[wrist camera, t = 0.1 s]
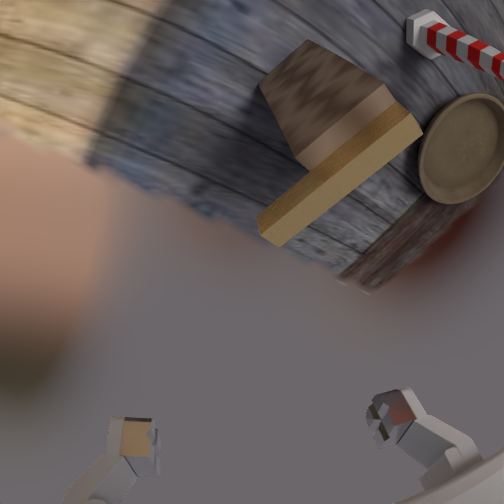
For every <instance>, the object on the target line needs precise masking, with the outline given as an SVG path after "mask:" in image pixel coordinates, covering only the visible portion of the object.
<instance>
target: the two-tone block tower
mask: <svg viewBox="0 0 504 504" xmlns="http://www.w3.org/2000/svg"><path fill="white" fill-rule="evenodd" d="M258 85H259V87H260V89H261V91H262V93H263V95H264V97H265V99H266V100H267V102H268V104H269V106H270V108H271V110H272V112H273V114H274V116H275V118H276V120H277V122H278V124H279V126H280V128H281V130H282V132H283V134H284V136H285V138H286V141H287V143H288V145H289V147H290V149H291V151H292V153H293V155H294V157H295V159H297V160H298V161H299V162H300V163H301V164H302V165H303V166H304V167H305V168H306V169H308V170H309V171H312V170H313V169H314V168H315V167H316V166H318V165H319V164H320V163H321V162H322V161H324V160H325V159H326V158H327V157H328V156H330V155H331V154H332V153H333V152H334V151H336V150H337V149H338V148H339V147H340V146H342V145H343V144H344V143H345V142H347V141H348V140H349V139H350V138H351V137H353V136H354V135H355V134H356V133H358V132H359V131H360V130H361V129H362V128H364V127H365V126H366V125H367V124H369V123H370V122H371V121H372V120H373V119H375V118H376V117H377V116H378V115H380V114H381V113H382V112H383V111H385V110H386V109H387V108H388V107H390V106H391V105H392V104H393V103H395V102H396V100H395V99H394V97H393V96H392V95H391V93H390V92H389V90H388V89H387V87H386V86H385V85H384V83H382V82H381V81H379V80H378V79H376V78H374V77H373V76H371V75H370V74H368V73H367V72H365V71H363V70H362V69H360V68H359V67H357V66H355V65H354V64H352V63H350V62H349V61H347V60H345V59H344V58H342V57H340V56H338V55H337V54H335V53H333V52H331V51H329V50H327V49H326V48H324V47H322V46H320V45H318V44H316V43H314V42H312V41H310V40H307V41H305V42H304V43H303V44H302V45H301V46H300V47H298V48H297V49H296V50H295V51H294V52H293V53H291V54H290V55H289V56H288V57H287V58H286V59H285V60H283V61H282V62H281V63H280V64H279V65H278V66H277V67H276V68H275V69H273V70H272V71H271V72H270V73H269V74H268V75H267V76H266V77H265V78H264V79H263V80H262V81H260V82H259V83H258Z"/></svg>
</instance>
